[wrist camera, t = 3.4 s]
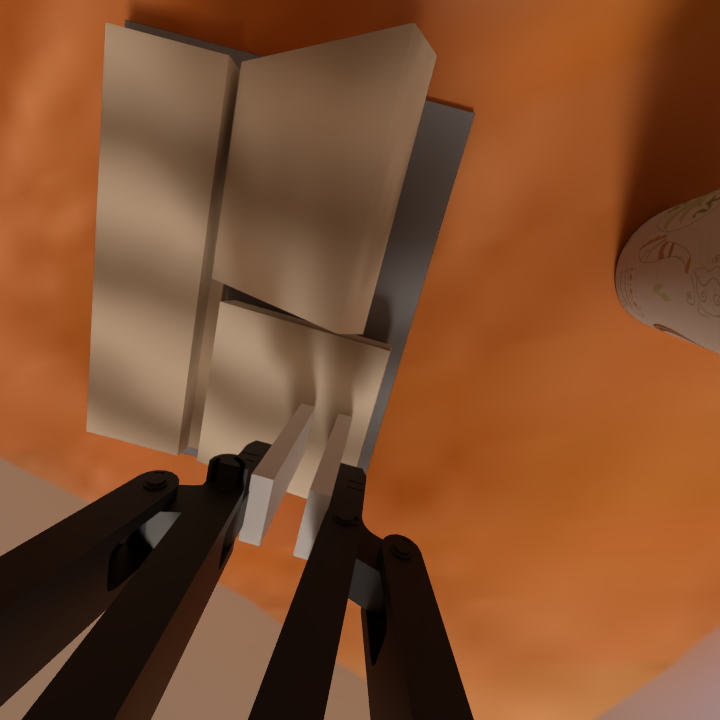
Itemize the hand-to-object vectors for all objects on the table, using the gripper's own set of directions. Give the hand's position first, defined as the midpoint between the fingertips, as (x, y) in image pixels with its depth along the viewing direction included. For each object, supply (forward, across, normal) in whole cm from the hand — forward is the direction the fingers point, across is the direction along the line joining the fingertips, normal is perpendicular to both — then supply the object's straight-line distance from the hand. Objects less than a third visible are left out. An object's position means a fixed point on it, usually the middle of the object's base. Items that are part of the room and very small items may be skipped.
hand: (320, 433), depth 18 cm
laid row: (+3, -5, +6) cm, 8 cm away
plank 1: (0, -3, +11) cm, 11 cm away
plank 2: (+2, -2, 0) cm, 3 cm away
